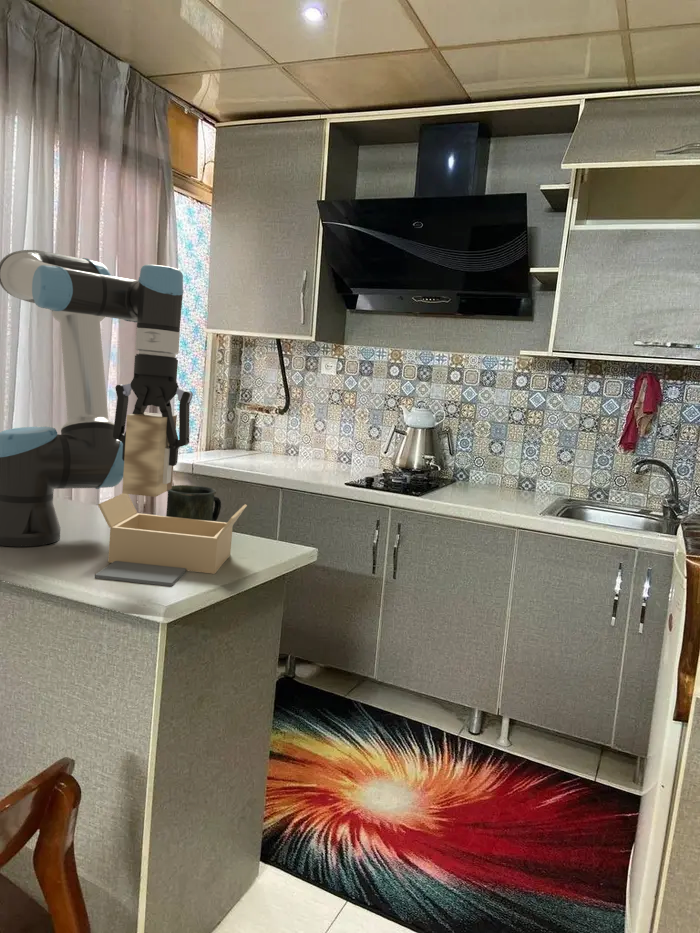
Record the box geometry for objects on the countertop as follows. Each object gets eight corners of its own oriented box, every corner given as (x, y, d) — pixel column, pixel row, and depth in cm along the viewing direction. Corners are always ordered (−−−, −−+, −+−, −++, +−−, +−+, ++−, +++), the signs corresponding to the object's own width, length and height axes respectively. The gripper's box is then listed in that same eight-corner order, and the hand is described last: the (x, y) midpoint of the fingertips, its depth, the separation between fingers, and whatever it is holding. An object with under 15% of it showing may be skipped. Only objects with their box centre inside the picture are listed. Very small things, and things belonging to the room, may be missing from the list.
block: (122, 493, 126) (126, 414, 124) (140, 485, 136) (145, 412, 134) (155, 496, 126) (161, 418, 124) (171, 488, 136) (176, 415, 134)
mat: (94, 577, 128) (95, 574, 128) (114, 563, 138) (115, 560, 138) (171, 586, 128) (171, 582, 128) (186, 571, 138) (186, 568, 138)
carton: (94, 560, 139) (97, 503, 137) (121, 543, 153) (124, 491, 152) (228, 575, 138) (233, 517, 137) (242, 556, 153) (247, 504, 151)
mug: (152, 539, 160) (155, 486, 158) (200, 531, 172) (204, 482, 170) (184, 549, 154) (188, 495, 152) (232, 541, 165) (237, 490, 164)
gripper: (96, 348, 124) (89, 478, 127) (204, 359, 124) (194, 489, 127) (112, 350, 132) (105, 473, 135) (213, 360, 131) (204, 483, 134)
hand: (148, 480), depth 131 cm, fingers closed on block, 6 cm apart
